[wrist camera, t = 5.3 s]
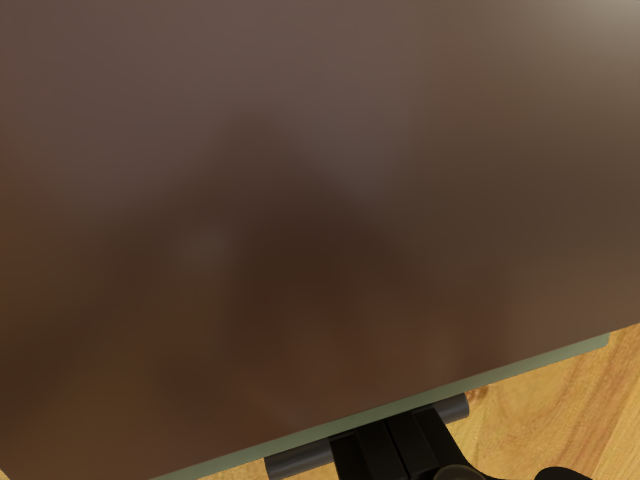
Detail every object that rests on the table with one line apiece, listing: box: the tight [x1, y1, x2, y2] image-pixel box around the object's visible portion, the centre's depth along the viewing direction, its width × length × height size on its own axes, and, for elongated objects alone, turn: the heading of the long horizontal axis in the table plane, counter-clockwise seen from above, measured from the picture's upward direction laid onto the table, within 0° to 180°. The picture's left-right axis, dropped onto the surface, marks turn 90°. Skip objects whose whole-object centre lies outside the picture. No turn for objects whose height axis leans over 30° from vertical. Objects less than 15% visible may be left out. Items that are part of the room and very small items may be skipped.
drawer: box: [151, 333, 610, 480], centre depth 10 cm, size 20×11×8 cm, turn 10°
